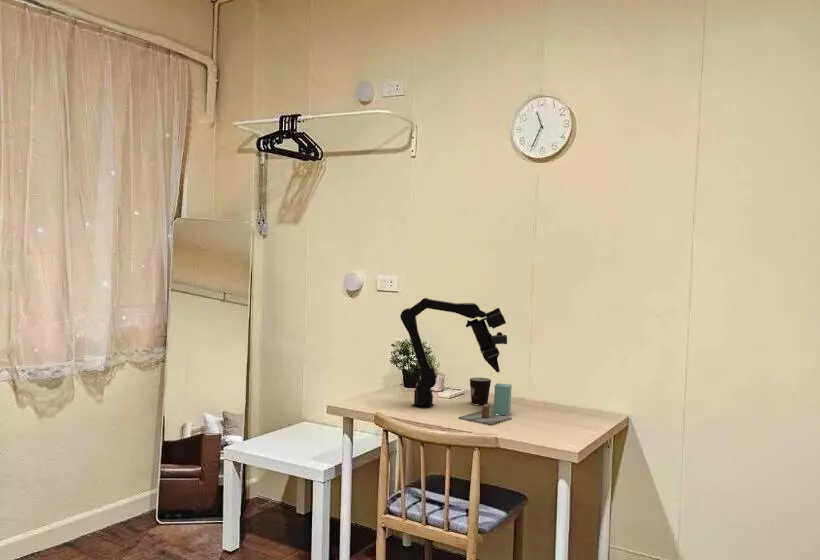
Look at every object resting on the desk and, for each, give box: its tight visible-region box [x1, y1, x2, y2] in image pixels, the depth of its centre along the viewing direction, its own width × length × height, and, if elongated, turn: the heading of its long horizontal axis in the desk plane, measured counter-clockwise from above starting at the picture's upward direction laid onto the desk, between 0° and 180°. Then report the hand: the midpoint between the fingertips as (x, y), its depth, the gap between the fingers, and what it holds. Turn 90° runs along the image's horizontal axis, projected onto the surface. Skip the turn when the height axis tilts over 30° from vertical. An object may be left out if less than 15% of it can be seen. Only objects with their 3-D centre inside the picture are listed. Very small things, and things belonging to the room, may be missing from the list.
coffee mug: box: [469, 376, 492, 406], centre depth 273 cm, size 12×9×10 cm
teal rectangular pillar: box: [493, 382, 512, 416], centre depth 254 cm, size 6×6×11 cm
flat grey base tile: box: [458, 405, 513, 426], centre depth 245 cm, size 14×14×5 cm
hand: (497, 370), depth 261 cm, fingers open, 9 cm apart
